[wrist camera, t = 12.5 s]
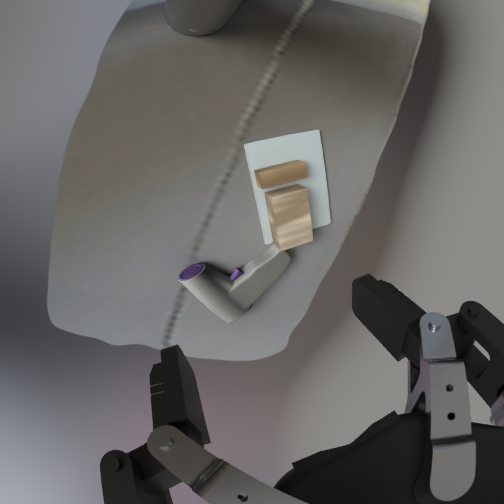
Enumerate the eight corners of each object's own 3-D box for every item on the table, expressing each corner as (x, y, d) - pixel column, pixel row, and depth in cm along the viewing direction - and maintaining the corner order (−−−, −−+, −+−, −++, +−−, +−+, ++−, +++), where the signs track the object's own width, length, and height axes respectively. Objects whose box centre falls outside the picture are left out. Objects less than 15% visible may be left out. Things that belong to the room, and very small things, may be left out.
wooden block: (271, 197, 37) (281, 251, 41) (307, 188, 38) (313, 240, 42) (264, 192, 40) (273, 243, 44) (297, 183, 41) (304, 233, 45)
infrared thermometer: (286, 254, 48) (225, 313, 48) (242, 206, 42) (174, 274, 42) (299, 265, 44) (232, 329, 44) (252, 213, 38) (177, 288, 38)
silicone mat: (243, 144, 37) (244, 144, 36) (317, 129, 39) (319, 129, 38) (264, 243, 44) (266, 244, 44) (328, 222, 46) (330, 223, 46)
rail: (253, 170, 38) (259, 172, 36) (297, 159, 39) (304, 161, 37) (257, 186, 39) (262, 189, 37) (300, 174, 41) (307, 177, 38)
